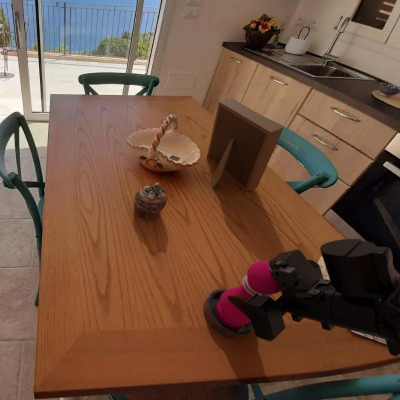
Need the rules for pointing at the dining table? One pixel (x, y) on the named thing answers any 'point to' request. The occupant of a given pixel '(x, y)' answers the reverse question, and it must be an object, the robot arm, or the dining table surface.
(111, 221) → the dining table surface
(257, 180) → the photo frame
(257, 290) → the pepper mill
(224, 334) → the tray
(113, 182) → the dining table surface
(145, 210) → the cupcake
